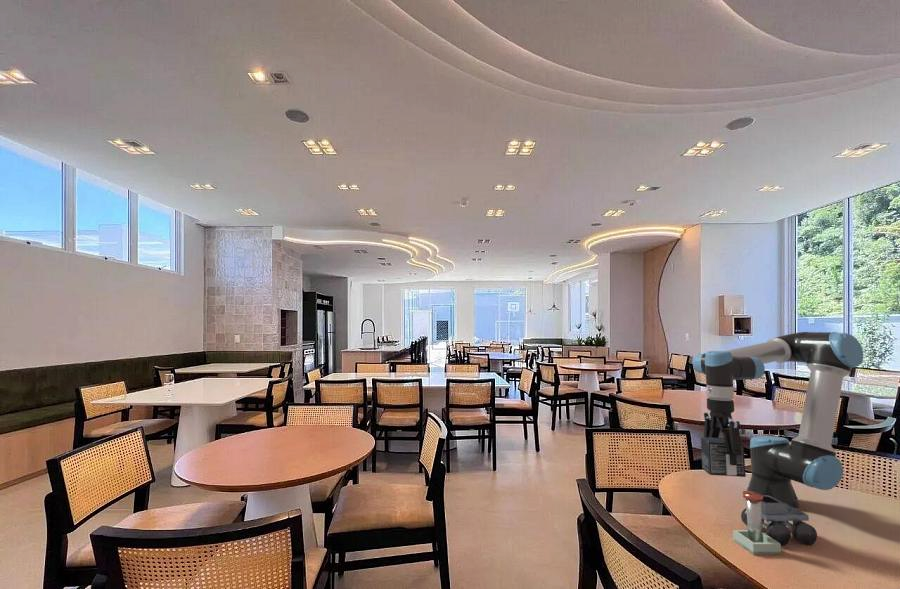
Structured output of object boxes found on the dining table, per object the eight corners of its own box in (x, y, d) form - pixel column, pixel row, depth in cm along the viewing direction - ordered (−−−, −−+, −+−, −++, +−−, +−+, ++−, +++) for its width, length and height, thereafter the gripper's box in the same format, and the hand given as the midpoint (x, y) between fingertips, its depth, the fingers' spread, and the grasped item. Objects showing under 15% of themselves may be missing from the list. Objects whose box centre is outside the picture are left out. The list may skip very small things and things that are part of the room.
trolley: (783, 525, 134) (781, 491, 135) (817, 545, 122) (815, 507, 123) (741, 526, 133) (740, 491, 134) (771, 546, 121) (769, 508, 122)
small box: (736, 470, 136) (734, 437, 136) (746, 477, 129) (745, 443, 130) (701, 467, 138) (700, 435, 138) (709, 475, 131) (708, 441, 132)
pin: (758, 540, 123) (754, 490, 124) (770, 548, 118) (767, 497, 120) (742, 540, 123) (738, 490, 124) (753, 548, 118) (750, 497, 120)
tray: (759, 540, 125) (758, 529, 125) (781, 554, 117) (780, 543, 117) (733, 540, 125) (732, 530, 125) (753, 555, 117) (753, 544, 117)
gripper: (690, 393, 145) (692, 460, 143) (730, 404, 125) (734, 482, 123) (710, 393, 145) (713, 460, 144) (754, 404, 125) (758, 482, 124)
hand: (723, 470), depth 133 cm, fingers closed on small box, 7 cm apart
